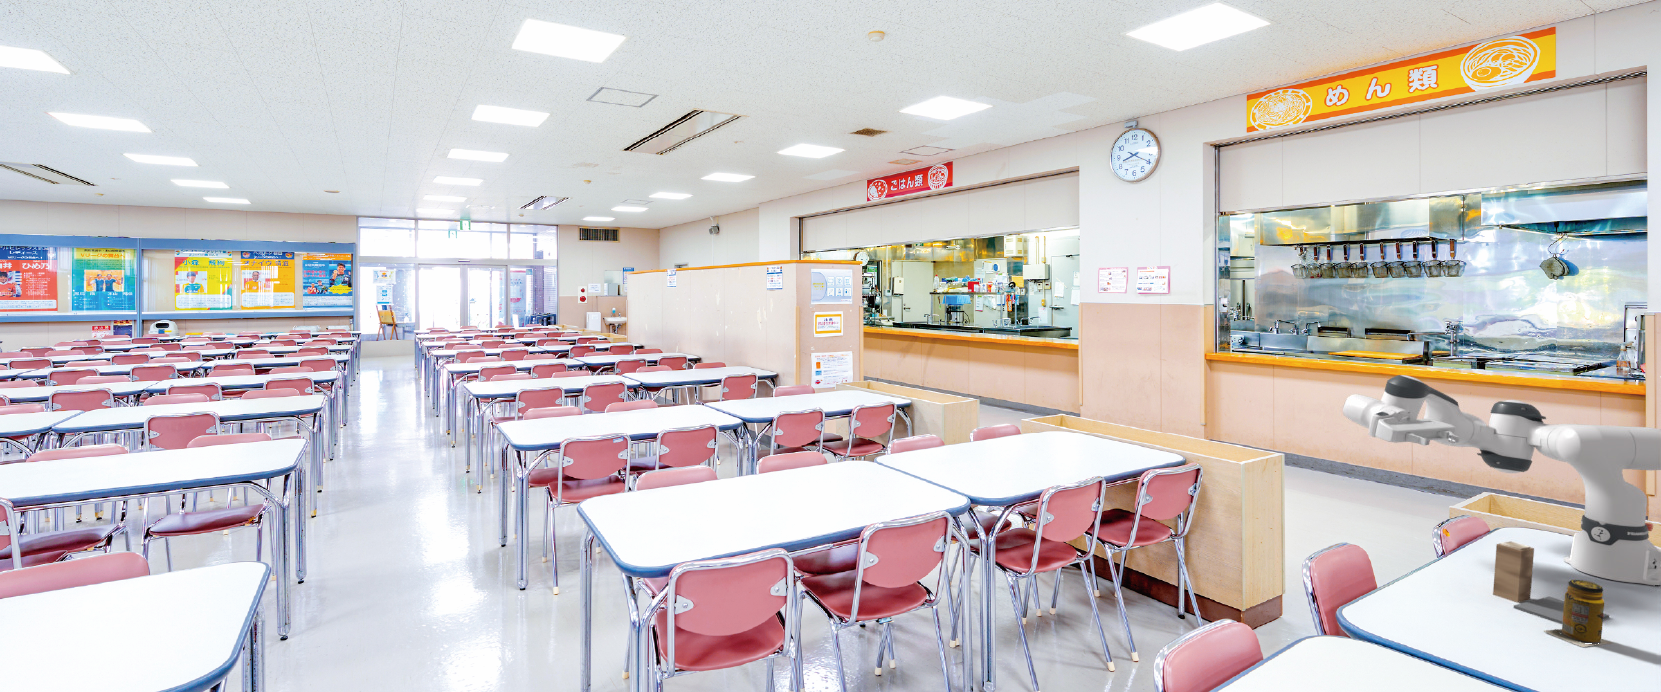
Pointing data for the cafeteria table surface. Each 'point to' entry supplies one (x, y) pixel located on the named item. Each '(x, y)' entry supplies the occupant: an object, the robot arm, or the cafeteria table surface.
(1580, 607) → the condiment
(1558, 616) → the mat
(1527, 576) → the block
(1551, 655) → the cafeteria table surface
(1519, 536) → the cafeteria table surface
